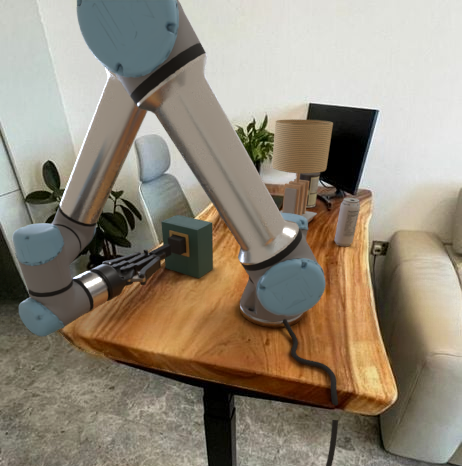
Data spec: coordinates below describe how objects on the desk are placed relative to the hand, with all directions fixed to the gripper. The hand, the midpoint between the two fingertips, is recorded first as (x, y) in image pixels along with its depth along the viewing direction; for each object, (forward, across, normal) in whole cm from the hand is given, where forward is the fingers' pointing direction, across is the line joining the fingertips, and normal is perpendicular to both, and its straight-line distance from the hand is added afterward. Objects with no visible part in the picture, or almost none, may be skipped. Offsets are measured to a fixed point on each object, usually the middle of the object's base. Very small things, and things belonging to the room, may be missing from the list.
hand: (168, 249), depth 92 cm
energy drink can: (+52, +33, -9) cm, 62 cm away
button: (+4, 0, -2) cm, 5 cm away
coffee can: (+88, +5, -9) cm, 89 cm away
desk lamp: (+64, +10, -9) cm, 65 cm away
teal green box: (+8, 0, -9) cm, 12 cm away
